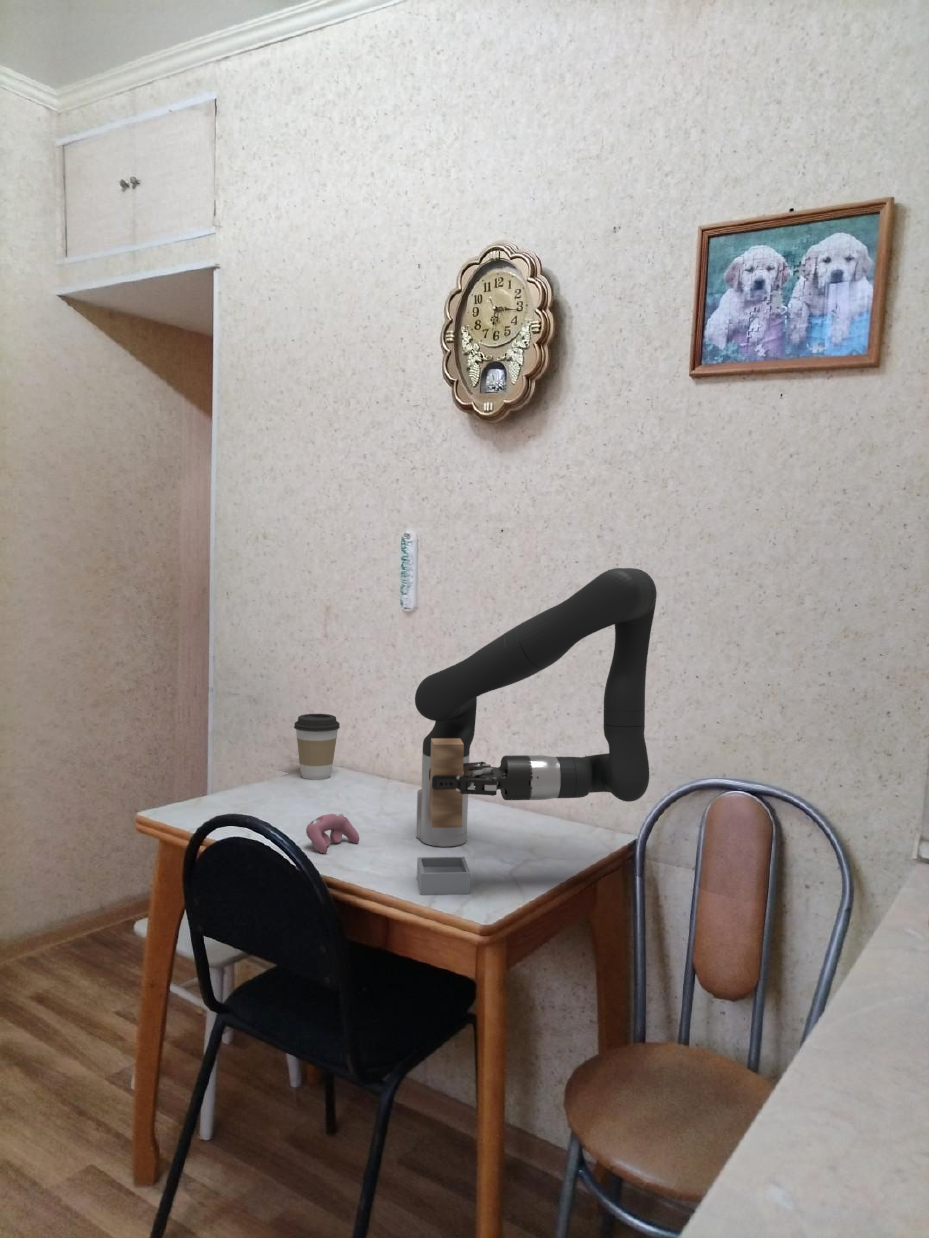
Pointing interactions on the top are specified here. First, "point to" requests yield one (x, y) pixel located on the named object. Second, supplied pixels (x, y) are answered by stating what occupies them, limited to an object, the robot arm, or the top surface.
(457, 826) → the walnut pillar
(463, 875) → the grey open box
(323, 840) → the video game controller
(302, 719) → the coffee cup
